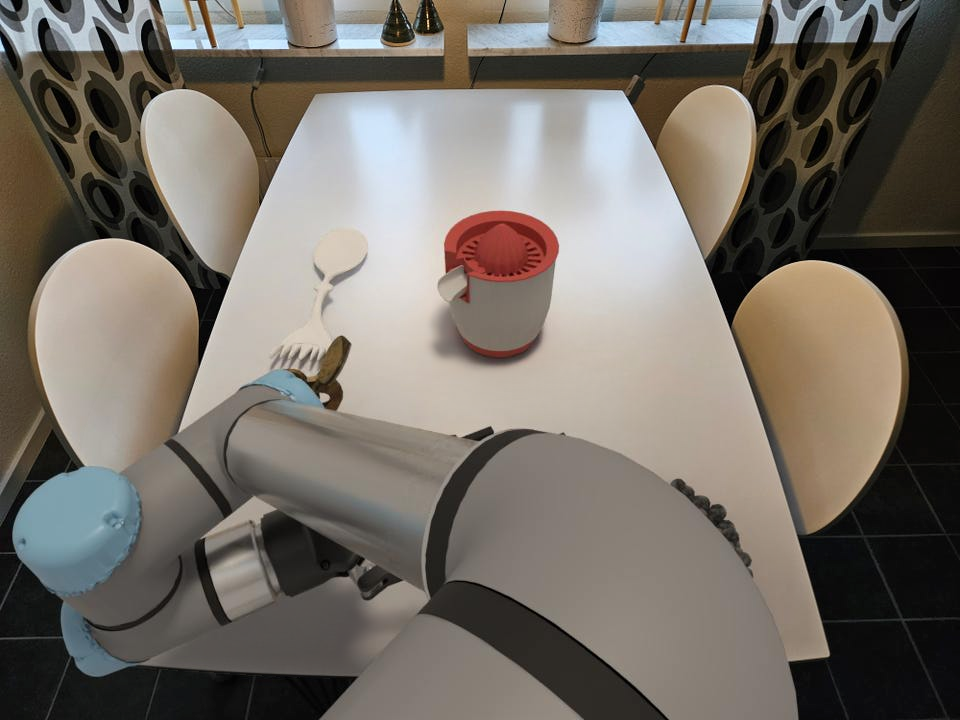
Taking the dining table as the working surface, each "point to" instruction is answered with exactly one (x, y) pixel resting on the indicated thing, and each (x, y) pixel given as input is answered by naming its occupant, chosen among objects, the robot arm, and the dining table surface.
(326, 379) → the wooden mug
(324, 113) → the dining table surface
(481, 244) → the citrus juicer
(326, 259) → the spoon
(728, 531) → the fruit
